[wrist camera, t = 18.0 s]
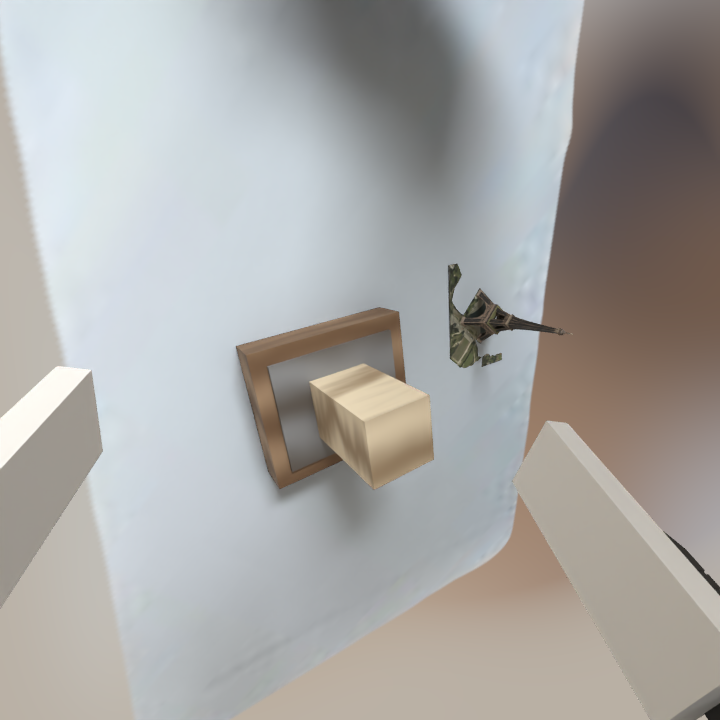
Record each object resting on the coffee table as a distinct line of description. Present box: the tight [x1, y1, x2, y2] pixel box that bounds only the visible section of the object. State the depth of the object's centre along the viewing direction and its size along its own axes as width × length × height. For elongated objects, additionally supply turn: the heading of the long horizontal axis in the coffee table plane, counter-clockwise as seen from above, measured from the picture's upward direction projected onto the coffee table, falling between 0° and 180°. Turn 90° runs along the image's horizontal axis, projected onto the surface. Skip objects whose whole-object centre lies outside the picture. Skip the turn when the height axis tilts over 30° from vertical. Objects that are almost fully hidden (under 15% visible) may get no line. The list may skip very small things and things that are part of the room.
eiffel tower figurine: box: [448, 264, 571, 368], centre depth 46 cm, size 15×10×13 cm
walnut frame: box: [236, 307, 406, 489], centre depth 40 cm, size 14×16×4 cm
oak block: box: [309, 363, 434, 490], centre depth 34 cm, size 6×6×10 cm
